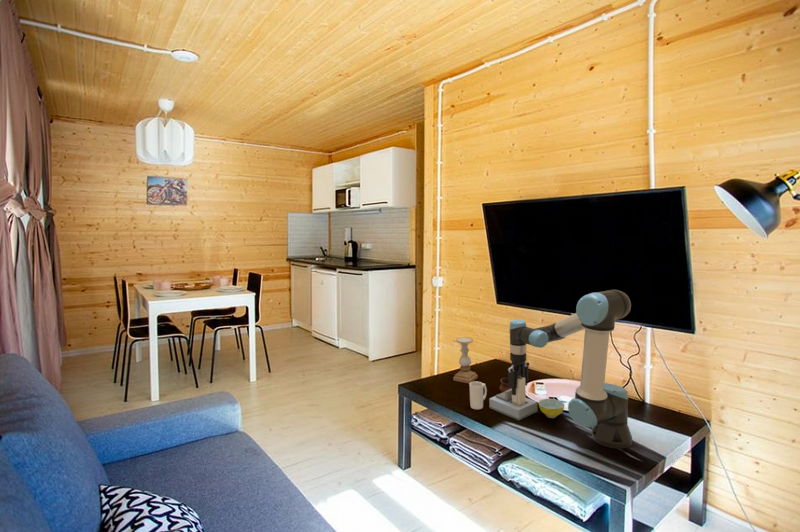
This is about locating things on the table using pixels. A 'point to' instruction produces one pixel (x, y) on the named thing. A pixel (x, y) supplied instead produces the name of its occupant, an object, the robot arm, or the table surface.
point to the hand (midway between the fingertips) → (518, 399)
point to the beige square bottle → (520, 391)
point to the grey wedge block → (505, 395)
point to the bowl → (551, 407)
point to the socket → (513, 408)
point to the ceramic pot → (504, 385)
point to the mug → (477, 394)
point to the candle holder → (465, 363)
